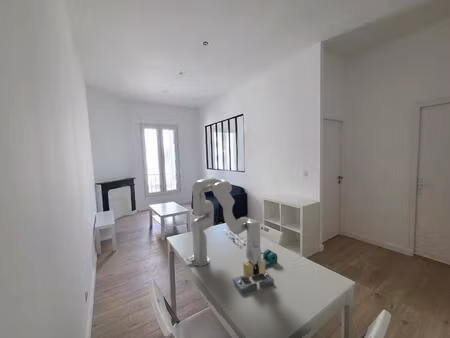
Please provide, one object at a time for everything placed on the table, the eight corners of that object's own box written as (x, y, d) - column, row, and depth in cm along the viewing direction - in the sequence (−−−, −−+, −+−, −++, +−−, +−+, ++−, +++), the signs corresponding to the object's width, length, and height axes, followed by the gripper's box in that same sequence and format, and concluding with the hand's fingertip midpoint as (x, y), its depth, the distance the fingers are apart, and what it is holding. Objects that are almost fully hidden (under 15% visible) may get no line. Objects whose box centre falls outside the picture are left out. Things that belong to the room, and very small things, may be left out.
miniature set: (221, 231, 196) (233, 231, 202) (238, 249, 165) (251, 248, 170) (222, 225, 196) (234, 225, 201) (240, 241, 164) (252, 241, 169)
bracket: (270, 258, 147) (270, 248, 146) (277, 263, 141) (277, 252, 140) (250, 266, 138) (250, 255, 137) (256, 271, 132) (256, 259, 132)
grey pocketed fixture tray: (241, 294, 111) (240, 287, 111) (233, 282, 121) (233, 276, 121) (273, 284, 119) (273, 278, 118) (264, 274, 128) (264, 268, 128)
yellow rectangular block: (246, 277, 115) (246, 265, 115) (243, 273, 119) (243, 262, 118) (265, 272, 120) (265, 261, 119) (261, 269, 123) (261, 257, 123)
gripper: (241, 237, 124) (242, 266, 126) (255, 249, 109) (255, 282, 110) (252, 235, 127) (253, 263, 128) (267, 246, 111) (267, 278, 113)
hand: (254, 272), depth 119 cm, fingers closed on yellow rectangular block, 4 cm apart
